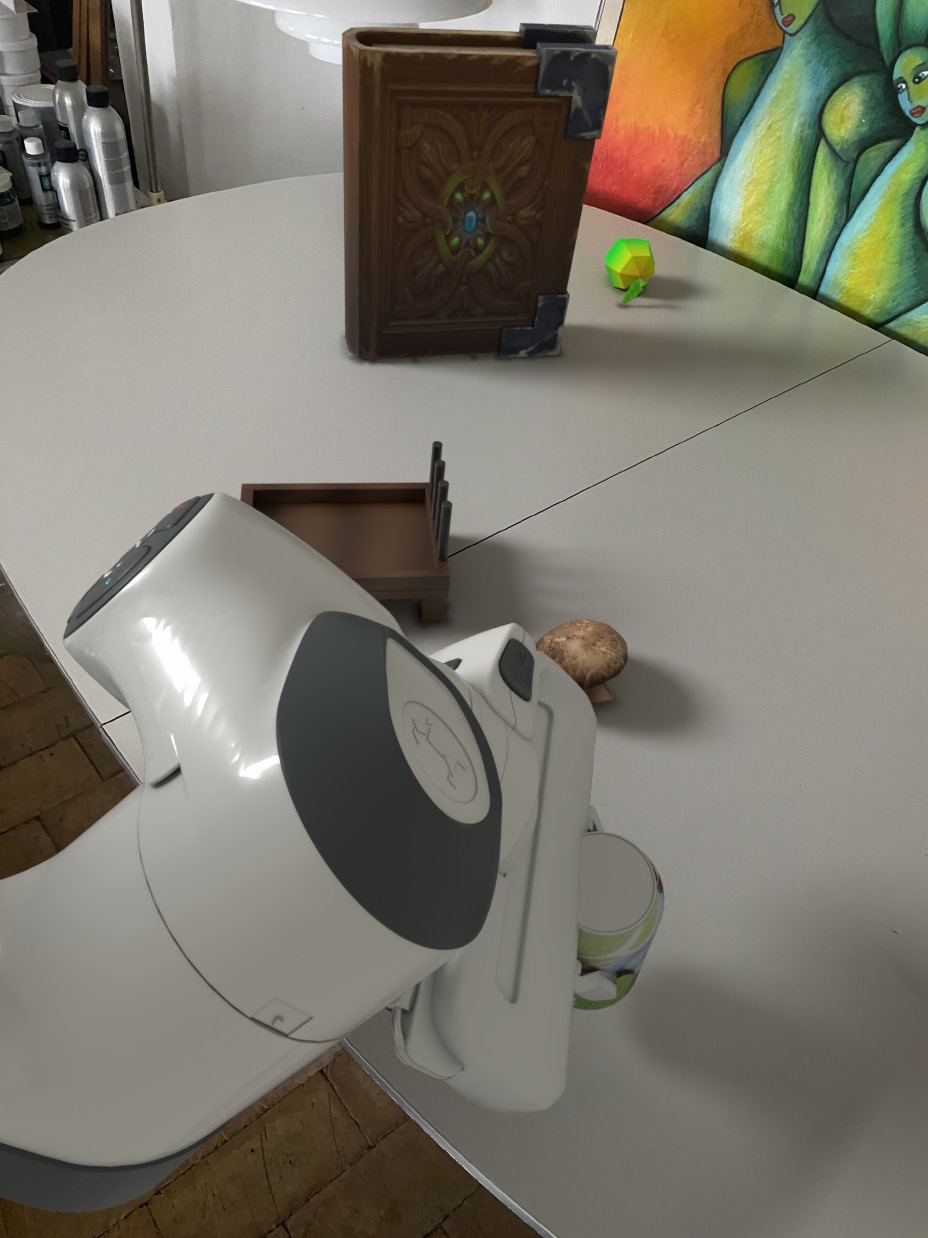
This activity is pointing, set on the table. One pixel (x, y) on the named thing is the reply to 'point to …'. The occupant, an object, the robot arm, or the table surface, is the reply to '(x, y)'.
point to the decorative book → (466, 184)
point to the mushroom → (587, 655)
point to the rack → (373, 531)
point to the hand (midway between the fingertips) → (608, 926)
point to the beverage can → (616, 910)
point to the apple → (630, 266)
